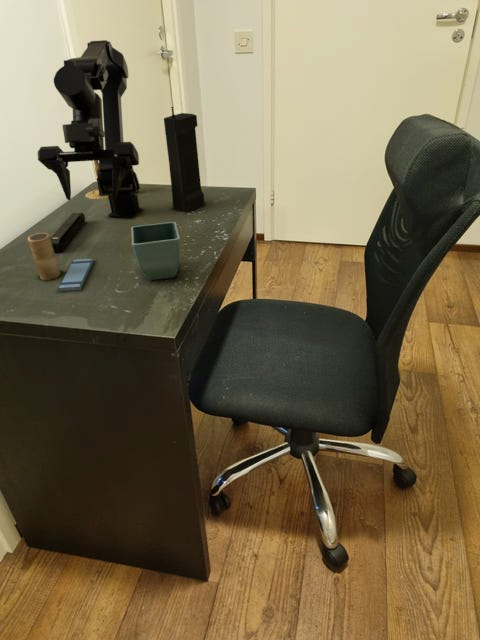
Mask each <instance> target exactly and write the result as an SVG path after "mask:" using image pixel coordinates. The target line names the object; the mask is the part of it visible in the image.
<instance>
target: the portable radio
mask: <svg viewBox="0 0 480 640" xmlns="http://www.w3.org/2000/svg"><path fill="white" fill-rule="evenodd" d="M170 108H171V113H172V115H169V116H166V117H164V118H163V125H164V132H165V133H164V134H165V141H166V149H167V157H168V167H169V177H170V178H169V179H170V186H171V196H172V197H171V199H172V207H173V209H174V210H176V211H177V210H178V211H181V212H193V211H194V210H197V209H198V208H201V207H203V206H204V205H205V195H204V192H203V190H202V185H201V184H202V183H201V174H200V164H199V163H200V162H199V153H198V144H197V143H198V141H197V134H196V133H197V132H196V128H197V127H198V116H197V115H196V114H194V113H188V112H187V113H185V112H181V113H177V114H175V113H174V106H171V107H170Z"/></svg>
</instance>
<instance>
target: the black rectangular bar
mask: <svg viewBox="0 0 480 640" xmlns="http://www.w3.org/2000/svg"><path fill="white" fill-rule="evenodd" d="M85 224H86V217H85V214H84V212H72V213H71V214H70V215H69V217H67V218H66V219H65V221H64V222H63V223H62V224H61V226H60V227H59V228H58V229H57V230H56V231H55V232H54V233H53V234H52V236H50V239H51V243H52V246H53V249H54V253H62V252H63V251H64V250H65V249H66V248H67V246H68V245H69V244H70V242H71V241H72V240H73V239H74V237H75V236H76V234H77V233H78V232H79V231H80V230H81V229H82V227H83V226H84V225H85Z"/></svg>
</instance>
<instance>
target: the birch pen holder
mask: <svg viewBox="0 0 480 640" xmlns="http://www.w3.org/2000/svg"><path fill="white" fill-rule="evenodd" d="M50 238H51V236H50V234H49V233H48V232H37V233H34V234H32V235H30V236H28V237H27V241H28V245H29V248H30V251H31V254H32V257H33V261H34V263H35V267H36V269H37V272H38V275H39V278H40V280H42V281H50V280H55V279H57V278H58V277H60V275H61V270H60V266H59V263H58V260H57V256H56V252H54V249H53V246H52V243H51V239H50Z"/></svg>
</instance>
